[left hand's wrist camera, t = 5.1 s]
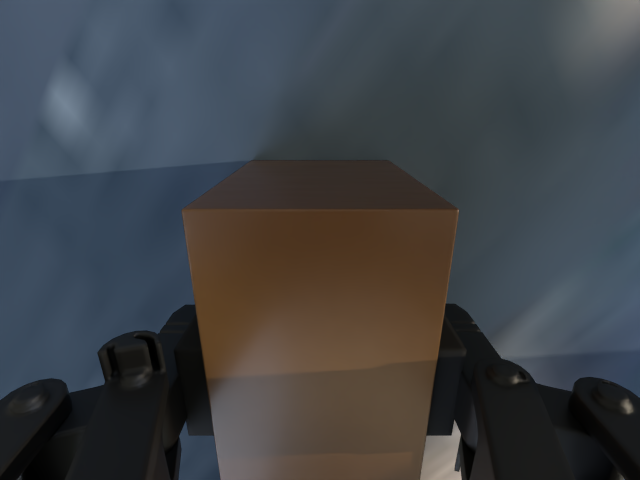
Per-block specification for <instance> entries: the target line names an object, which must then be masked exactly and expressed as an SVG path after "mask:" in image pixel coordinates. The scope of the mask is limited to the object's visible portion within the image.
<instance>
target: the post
mask: <svg viewBox="0 0 640 480" xmlns="http://www.w3.org/2000/svg"><path fill="white" fill-rule="evenodd" d="M458 215H459V209H457V208H456V207H455V206H453V205H452V204H450V203H449V202H447V201H446V200H445V199H443V198H442V197H440V196H439V195H437V194H436V193H435V192H433V191H432V190H430V189H429V188H427V187H426V186H425V185H423V184H422V183H420V182H419V181H417V180H416V179H414V178H413V177H412V176H410V175H409V174H407V173H406V172H404V171H403V170H402V169H400V168H399V167H397V166H396V165H394V164H393V163H392V162H390V161H388V160H251V161H250V162H248V163H247V164H246V165H244V166H243V167H241V168H240V169H238V170H237V171H236V172H234V173H233V174H231V175H230V176H228V177H227V178H226V179H224V180H223V181H221V182H220V183H219V184H217V185H216V186H214V187H213V188H211V189H210V190H209V191H207V192H206V193H204V194H203V195H202V196H200V197H199V198H197V199H196V200H194V201H193V202H192V203H190V204H189V205H187V206H186V207H185V208H183V209H182V218H183V225H184V232H185V238H186V245H187V252H188V259H189V266H190V273H191V280H192V287H193V294H194V300H195V307H196V314H197V321H198V328H199V335H200V342H201V349H202V356H203V362H204V369H205V376H206V383H207V390H208V397H209V404H210V411H211V418H212V424H213V431H214V438H215V445H216V452H217V459H218V466H219V473H220V480H420V475H421V468H422V461H423V454H424V447H425V441H426V434H427V427H428V420H429V413H430V406H431V400H432V393H433V386H434V379H435V372H436V365H437V358H438V352H439V345H440V338H441V331H442V324H443V317H444V311H445V304H446V297H447V290H448V283H449V276H450V269H451V263H452V256H453V249H454V242H455V235H456V228H457V221H458Z"/></svg>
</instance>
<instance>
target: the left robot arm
mask: <svg viewBox="0 0 640 480" xmlns="http://www.w3.org/2000/svg"><path fill="white" fill-rule="evenodd" d="M98 357H99V360H100V364H101V367H102V371H103V375H104V378H105V384H104V385H101V386H98V387H94V388H89V389H85V390H80V391H76V392H71V393H69V391H68V388H67V385H66V383H64V382H63V381H62V380H59V379H52V378H51V379H44V380H38V381H35V382H32V383H29V384H26V385H24V386H22V387H20V388H18V389H16V390H14V391H12V392H11V393H9V394H8V395H7V396H5V397H4V398H3V399H1V400H0V480H178V477H179V468H180V458H181V443H180V438H179V435H180V433H181V430H182V428H183V426H184V423H185V421H186V423H187V428H188V434H189V435H214V431H213V424H212V418H211V411H210V404H209V397H208V390H207V383H206V376H205V369H204V362H203V356H202V349H201V342H200V335H199V328H198V321H197V314H196V307H195V305H184V306H183V307H182V308H180V309H179V310H177V311H176V312H174V313H173V314H172V316H171V317H170V318H169V320H168V321H167V322H166V325H164V326H163V328H162V329H161V331H160V333H158V335H157V334H156V333H155V332H151V331H134V332H130V333H126V334H123V335H120V336H118V337H116V338H113V339H112V340H110V341H109V342H107V343H106V344H105V345H103V346H102V348H101V349H100V350H99V351H98ZM454 419H455V421H456V423H457V426H458V428H459V430H460V433H461V438H460V443H459V448H458V453H457V458H456V464H455V471H458V472H459V470H460V467H461V476H462V480H623V479H625V480H640V398H639V397H637V396H636V395H635V394H634V393H632V392H631V391H629V390H627V389H626V388H624V387H622V386H620V385H618V384H616V383H613V382H611V381H608V380H604V379H600V378H593V377H586V378H580V379H578V380H577V381H576V382H575V383H574V386H573V389H572V392H571V391H566V390H562V389H557V388H553V387H548V386H544V385H541V384H537V383H535V381H534V380H533V378H532V377H531V375H530V374H529V373H528V372H527V371H526V370H524V369H523V368H522V367H521V366H519V365H517V364H515V363H513V362H511V361H508V360H504V359H501V357H500V356H499V355H498V353H497V352H496V351H495V349H494V348H493V347H492V345H491V344H490V342H489V341H488V340H487V338H486V337H485V336H484V334H483V333H482V332H480V329H479V327H478V326H477V325H476V324H474V321H473V319H472V318H471V317H470V315H469V314H468V313H467V312H466V311H465V310H463V309H462V308H460V307H459V306H457V305H456V304H445V311H444V317H443V324H442V331H441V338H440V345H439V352H438V358H437V365H436V372H435V379H434V386H433V393H432V400H431V406H430V413H429V420H428V427H427V434H426V435H452V429H453V424H454Z"/></svg>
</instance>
